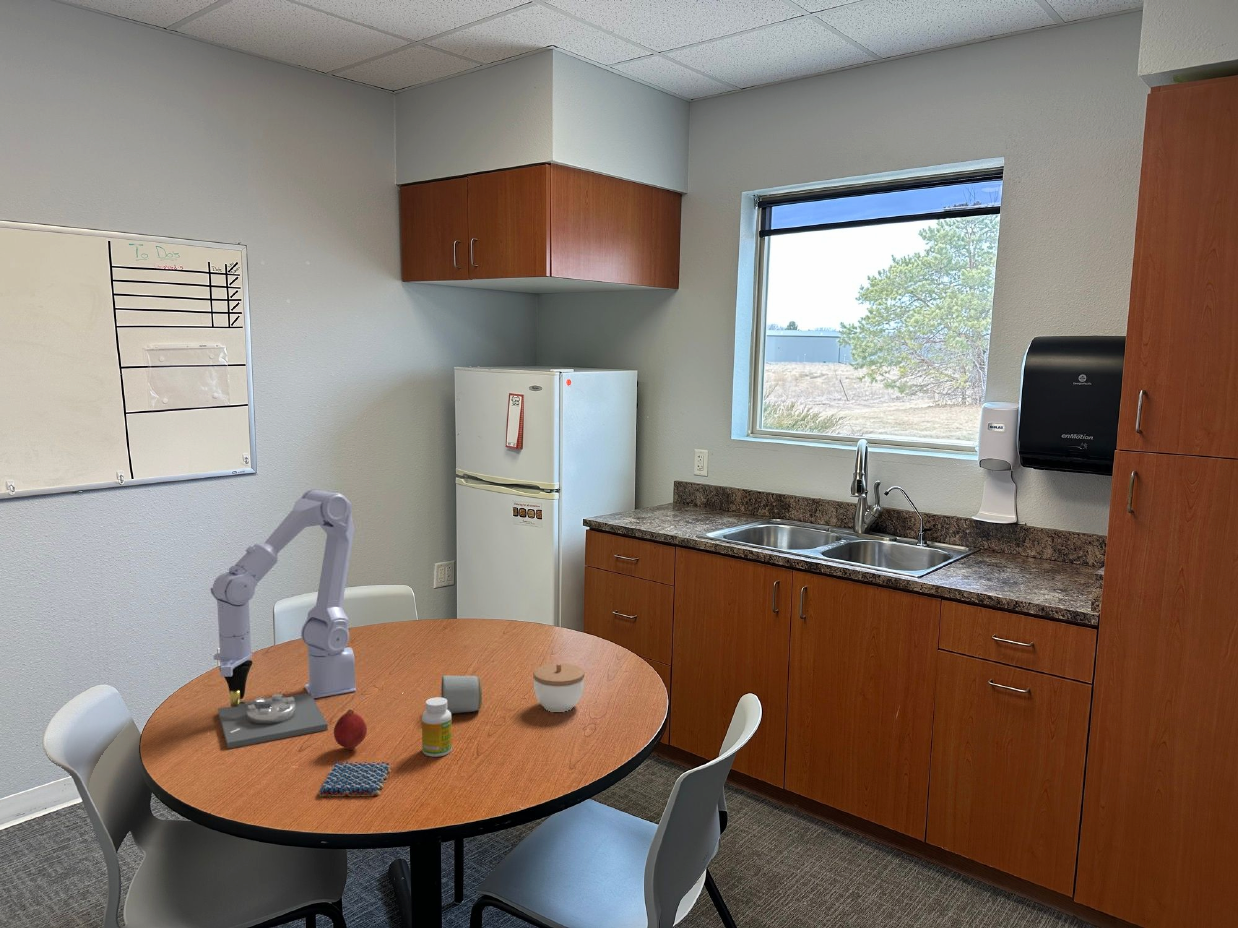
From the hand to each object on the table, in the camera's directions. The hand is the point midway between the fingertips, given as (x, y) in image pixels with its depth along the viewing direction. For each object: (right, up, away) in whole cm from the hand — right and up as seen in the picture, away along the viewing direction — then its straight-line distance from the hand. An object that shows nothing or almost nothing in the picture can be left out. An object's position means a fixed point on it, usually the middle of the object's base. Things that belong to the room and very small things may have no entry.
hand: (237, 698), depth 175 cm
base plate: (+7, -5, -1) cm, 8 cm away
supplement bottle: (+43, -7, -12) cm, 45 cm away
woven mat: (+31, -9, -24) cm, 41 cm away
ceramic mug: (+43, -4, +7) cm, 44 cm away
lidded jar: (+64, -4, +9) cm, 65 cm away
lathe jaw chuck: (+5, -3, -1) cm, 6 cm away
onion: (+27, -7, -12) cm, 30 cm away
